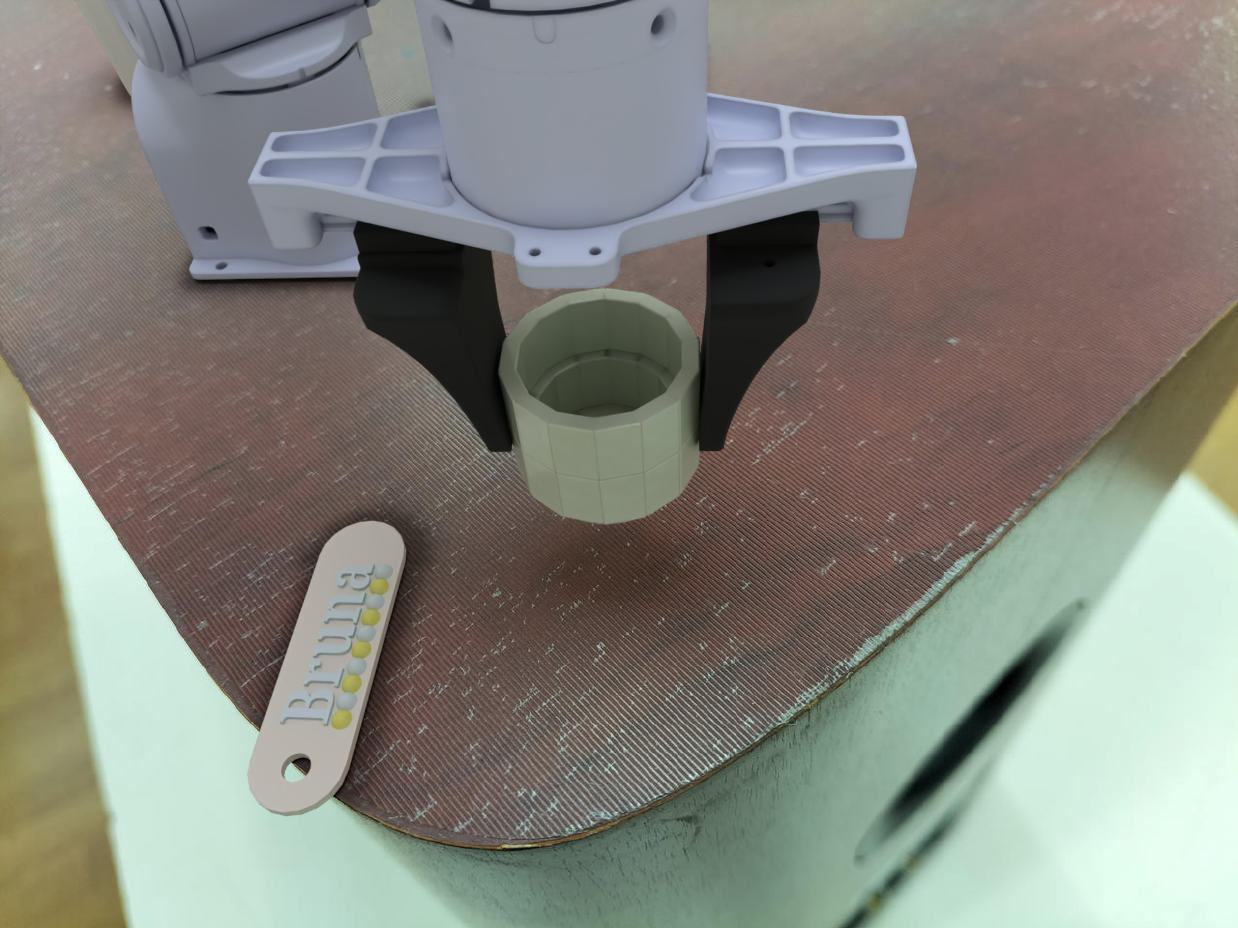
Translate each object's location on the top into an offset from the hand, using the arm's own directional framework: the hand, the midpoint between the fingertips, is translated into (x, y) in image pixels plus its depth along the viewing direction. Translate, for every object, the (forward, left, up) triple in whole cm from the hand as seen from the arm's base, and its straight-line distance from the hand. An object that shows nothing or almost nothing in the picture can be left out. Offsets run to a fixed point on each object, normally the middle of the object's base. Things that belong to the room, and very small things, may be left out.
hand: (604, 425), depth 29 cm
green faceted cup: (0, 0, -2) cm, 2 cm away
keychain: (-7, -4, -6) cm, 10 cm away
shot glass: (-26, +33, -7) cm, 43 cm away
